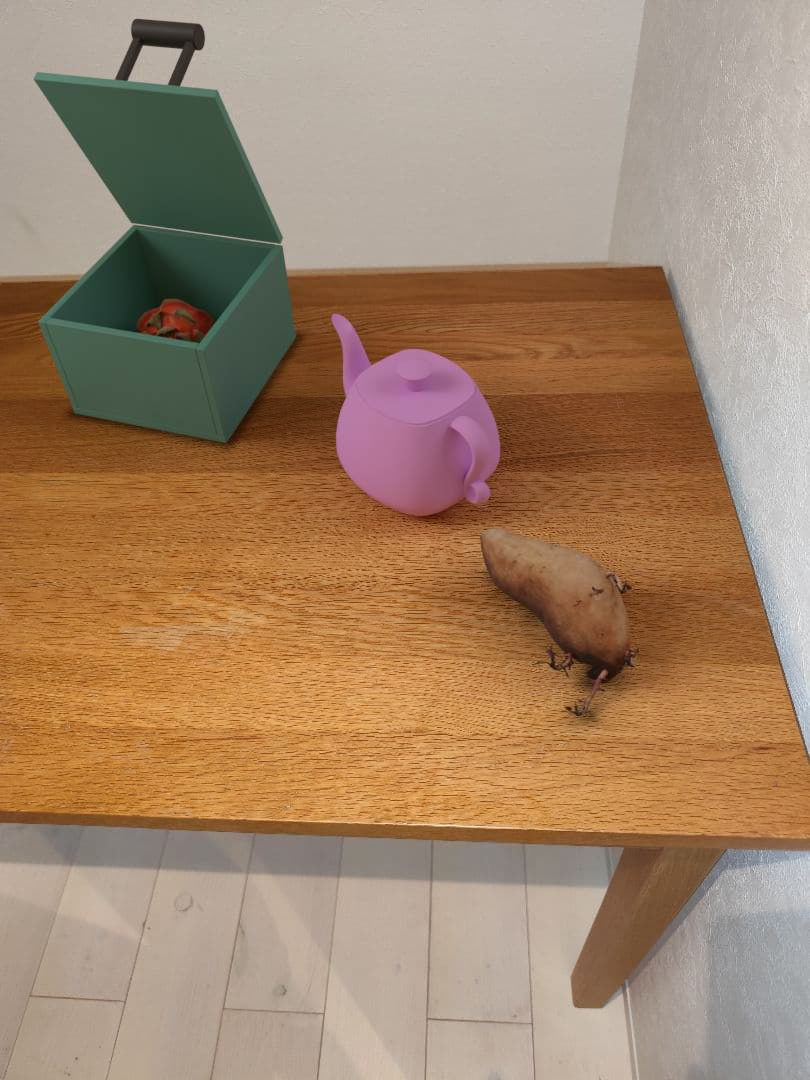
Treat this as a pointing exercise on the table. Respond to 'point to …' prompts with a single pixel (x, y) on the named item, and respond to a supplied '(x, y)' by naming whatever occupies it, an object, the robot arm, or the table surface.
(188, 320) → the dragon fruit
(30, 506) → the table surface
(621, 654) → the vegetable
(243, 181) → the chest lid
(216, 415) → the storage chest
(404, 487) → the teapot
